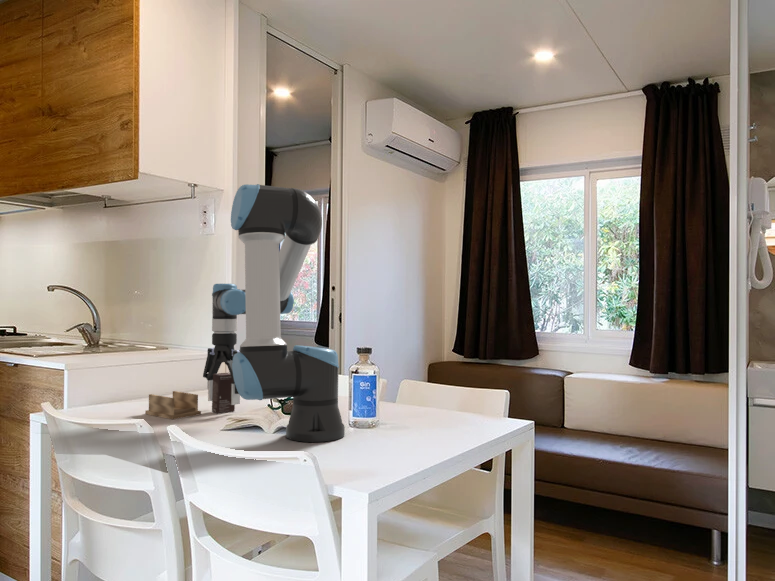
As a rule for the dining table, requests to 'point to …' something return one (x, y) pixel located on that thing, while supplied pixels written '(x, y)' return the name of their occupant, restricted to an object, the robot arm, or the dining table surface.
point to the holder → (173, 405)
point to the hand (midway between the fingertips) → (223, 402)
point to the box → (222, 393)
